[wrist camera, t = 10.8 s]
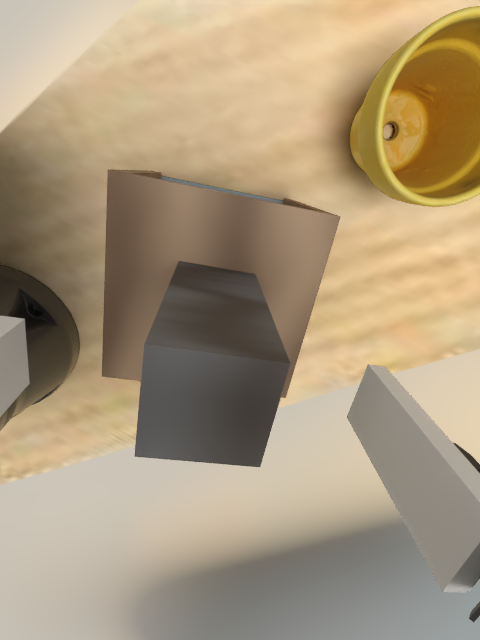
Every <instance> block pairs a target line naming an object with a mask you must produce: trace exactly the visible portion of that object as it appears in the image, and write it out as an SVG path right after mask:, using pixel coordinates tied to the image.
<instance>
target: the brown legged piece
mask: <svg viewBox="0 0 480 640" xmlns="http://www.w3.org/2000/svg"><path fill="white" fill-rule="evenodd" d="M339 220H340V216H337V215H334V214H331V213H328V212H325V211H323V210H320V209H317V208H314V207H311V206H308V205H306V204H303V203H300V202H297V201H294V200H290V199H286V198H284V201H283V204H279V203H275V202H270V201H265V200H260V199H255V198H250V197H245V196H240V195H235V194H230V193H225V192H220V191H215V190H211V189H206V188H201V187H196V186H191V185H186V184H181V183H176V182H171V181H166V180H161V173H159V172H154V171H137V170H108V185H107V219H106V254H105V289H104V324H103V359H102V376H103V377H112V378H120V379H129V380H138V381H141V388H140V400H139V411H138V423H137V435H136V447H135V456H136V457H147V458H159V459H171V460H182V461H194V462H206V463H218V464H229V465H241V466H252V467H260V465H261V462H262V458H263V455H264V452H265V448H266V445H267V442H268V438H269V435H270V431H271V428H272V425H273V421H274V418H275V414H276V411H277V408H278V404H279V401H280V398H281V397H283V398H286V395H287V391H288V388H289V385H290V382H291V378H292V375H293V372H294V368H295V365H296V362H297V358H298V355H299V352H300V349H301V345H302V342H303V339H304V335H305V332H306V329H307V325H308V322H309V319H310V316H311V312H312V309H313V306H314V302H315V299H316V296H317V292H318V289H319V286H320V283H321V279H322V276H323V273H324V269H325V266H326V263H327V259H328V256H329V253H330V250H331V246H332V243H333V240H334V236H335V233H336V230H337V226H338V223H339Z"/></svg>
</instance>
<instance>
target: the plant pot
mask: <svg viewBox="0 0 480 640" xmlns="http://www.w3.org/2000/svg"><path fill="white" fill-rule="evenodd" d="M387 123H391V124H393V125H394V127H395V133H394V135H393V137H392V138H391V139H390V140H386V139H385V138H384V137H383V128H384V126H385V125H386V124H387ZM350 147H351V152H352V155H353V158H354V160H355V161H356V163H357V164H358V166H359V167H360V168H361V169H362V170H364V171H365V172H366V174H367V176H368V177H369V179H370V180H371V182H372V183H373V184H374V185H375V186H376V187H377V188H378V189H379V190H380V191H381V192H382V193H384V194H386V195H387V196H389V197H391V198H393V199H396V200H399V201H402V202H406V203H410V204H416V205H422V206H429V207H442V206H450V205H454V204H458V203H461V202H464V201H467V200H469V199H471V198H473V197H475V196H477V195H479V194H480V6H476V7H469V8H465V9H461V10H458V11H455V12H452V13H450V14H448V15H446V16H443V17H442V18H440V19H438V20H437V21H435V22H433V23H432V24H430V25H429V26H427V27H426V28H425V29H423V30H422V31H421V32H419V33H418V34H417V35H415V36H414V37H413V38H411V39H410V40H409V41H408V42H407V43H405V44H404V45H403V46H402V47H401V48H400V49H398V50H397V51H396V52H395V53H394V54H393V55H392V56H391V57H390V58H389V59H388V60H387V62H386V63H385V64H384V65H383V67H382V68H381V69H380V71H379V72H378V74H377V75H376V77H375V78H374V80H373V82H372V84H371V86H370V88H369V90H368V92H367V94H366V97H365V99H364V102H363V105H362V106H361V107H360V109H359V110H358V112H357V114H356V115H355V118H354V120H353V123H352V126H351V131H350Z"/></svg>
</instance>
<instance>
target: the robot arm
mask: <svg viewBox="0 0 480 640" xmlns="http://www.w3.org/2000/svg"><path fill="white" fill-rule="evenodd" d="M78 354H79V337H78V332H77V328H76V325H75V323H74V320H73V318H72V316H71V315H70V313H69V311H68V310H67V308H66V307H65V305H64V304H63V303H62V301H61V300H60V299H59V298H58V297H57V296H56V295H55V294H54V293H53V292H52V291H51V290H50V289H48V288H47V287H46V286H45V285H43V284H42V283H40V282H39V281H37V280H36V279H34V278H32V277H31V276H29V275H27V274H25V273H22V272H20V271H18V270H15V269H12V268H9V267H6V266H2V265H0V431H1V429H2V428H3V427H4V426H5V425H6V423H7V422H8V421H9V420H10V419H11V418H13V417H14V416H16V415H17V414H19V413H20V412H22V411H23V410H24V409H26V408H27V407H29V406H30V405H33V404H35V403H38V402H40V401H42V400H43V399H45V398H47V397H48V396H50V395H51V394H52V393H54V392H55V391H56V390H57V389H58V388H59V387H60V386H61V385H62V384H63V382H64V381H65V380H66V378H67V377H68V376H69V374H70V373H71V371H72V370H73V368H74V366H75V364H76V361H77V358H78ZM347 418H348V420H349V422H350V424H351V425H352V427H353V429H354V431H355V433H356V435H357V436H358V438H359V440H360V442H361V444H362V446H363V447H364V449H365V451H366V453H367V455H368V457H369V458H370V460H371V462H372V464H373V466H374V467H375V469H376V471H377V473H378V475H379V477H380V478H381V480H382V482H383V484H384V486H385V488H386V489H387V491H388V493H389V495H390V497H391V499H392V500H393V502H394V504H395V506H396V508H397V509H398V511H399V513H400V515H401V517H402V519H403V520H404V522H405V524H406V526H407V528H408V530H409V531H410V533H411V535H412V537H413V539H414V541H415V542H416V544H417V546H418V548H419V550H420V551H421V553H422V555H423V557H424V559H425V560H426V562H427V564H428V566H429V568H430V570H431V572H432V573H433V575H434V577H435V579H436V581H437V582H438V584H439V586H440V588H441V590H442V591H443V592H469V591H470V590H471V588H472V587H473V586H474V585H475V583H476V582H477V581H478V580H479V579H480V464H479V463H478V462H477V461H476V460H475V459H474V458H473V457H472V456H471V455H470V454H469V453H467V452H466V451H465V450H463V449H462V448H461V447H459V446H458V445H457V444H456V443H452V442H451V440H450V439H449V438H448V437H447V436H446V435H445V434H444V432H443V431H442V430H441V429H440V428H439V427H438V426H437V425H436V424H435V422H434V421H433V420H432V419H431V418H430V417H429V416H428V414H426V412H425V411H424V410H423V409H422V408H421V407H420V405H419V404H418V403H417V402H416V401H415V400H414V399H413V398H412V396H411V395H410V394H409V393H408V392H407V391H406V390H405V388H404V387H403V386H402V385H401V384H400V383H399V382H398V381H397V379H396V378H395V377H394V376H393V375H392V374H391V373H390V372H389V370H388V369H387V368H386V367H384V366H376V365H369V364H368V366H367V369H366V371H365V374H364V376H363V379H362V381H361V383H360V386H359V388H358V391H357V393H356V396H355V398H354V401H353V403H352V406H351V408H350V411H349V413H348V416H347ZM479 616H480V602H479V603H478V604H477V605H476V607H475V608H474V609H473V610H472V612H471V614H470V617H469V619H470V620H472V621H473V622H474V621H475V620H476V619H477V618H478V617H479Z"/></svg>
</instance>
